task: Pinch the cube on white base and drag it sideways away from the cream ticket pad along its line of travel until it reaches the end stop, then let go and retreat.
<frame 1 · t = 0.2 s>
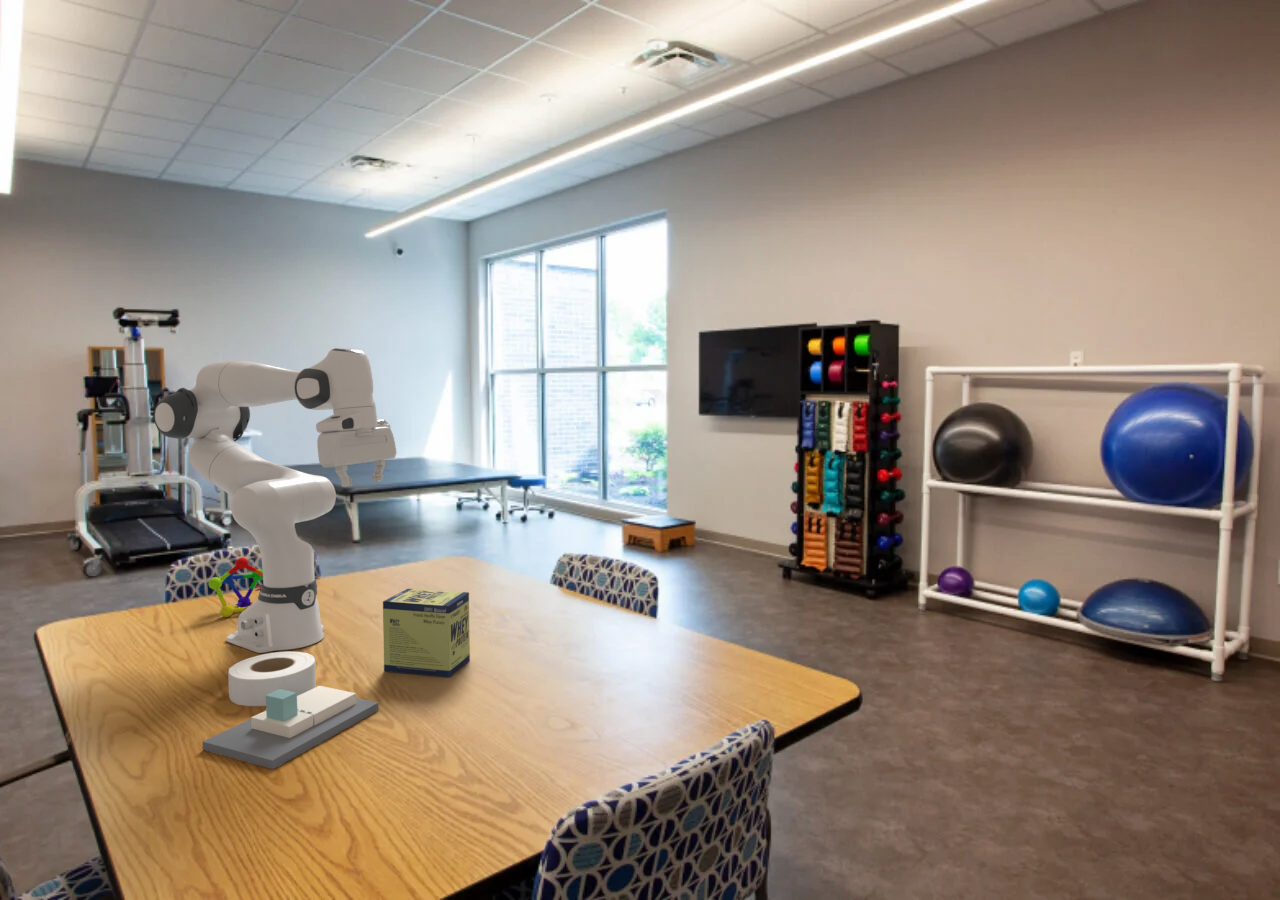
hand: (363, 483, 170), 39 cm above the table, tool pointing down, fingers open, 8 cm apart
protein box: (428, 667, 167), on the table
desk mat: (295, 729, 137), on the table
ticket pad: (317, 717, 142), resting on desk mat
cube on white base: (281, 710, 134), point 5 cm above the table, slide at 0.0 cm
roll of tape: (273, 692, 154), on the table
educational toy: (241, 611, 206), on the table
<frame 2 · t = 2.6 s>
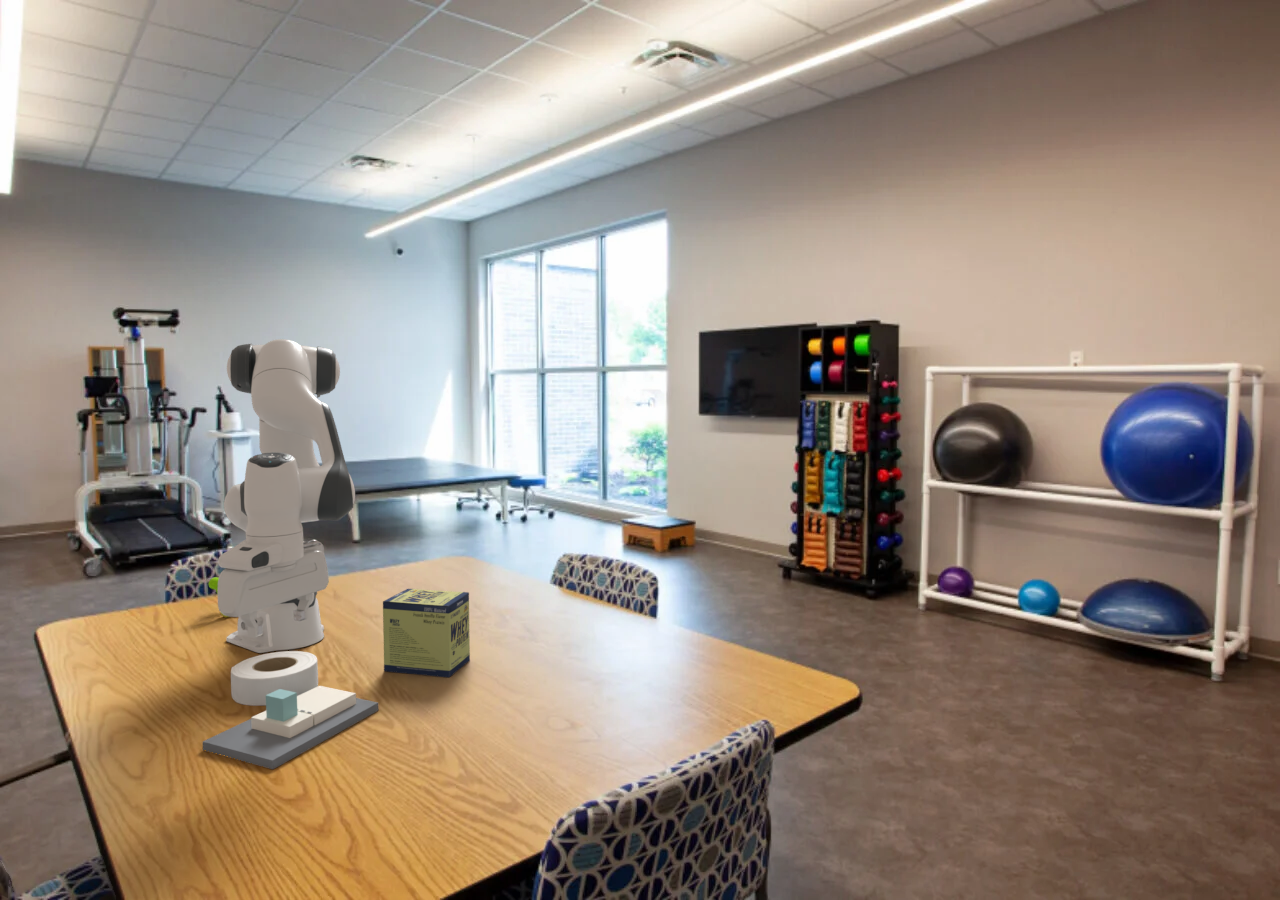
hand: (278, 627, 133), 19 cm above the table, tool pointing down, fingers open, 8 cm apart
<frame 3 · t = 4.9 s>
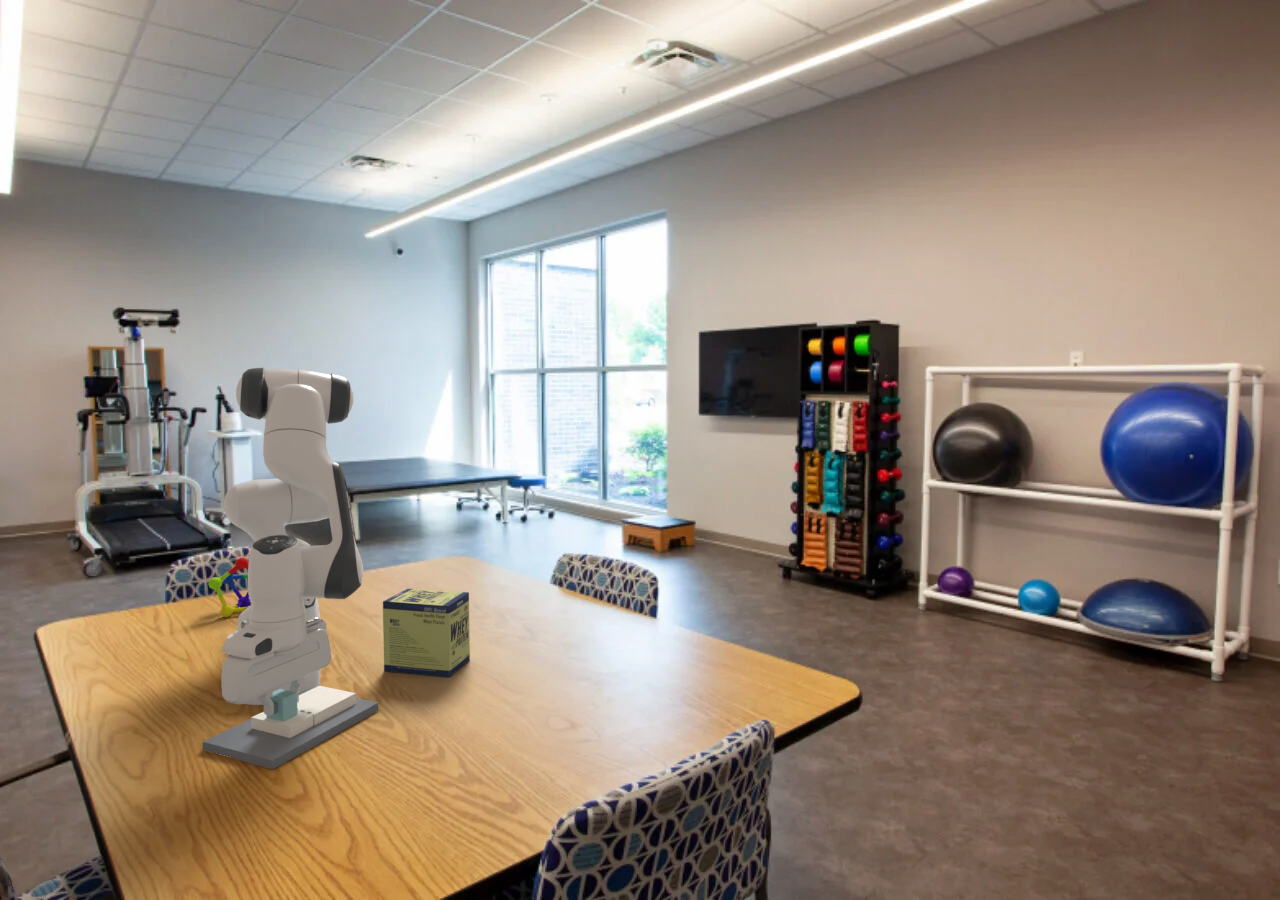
hand: (281, 708, 134), 5 cm above the table, tool pointing down, fingers closed on cube on white base, 3 cm apart
cube on white base: (281, 710, 134), point 5 cm above the table, slide at 0.0 cm, touching gripper
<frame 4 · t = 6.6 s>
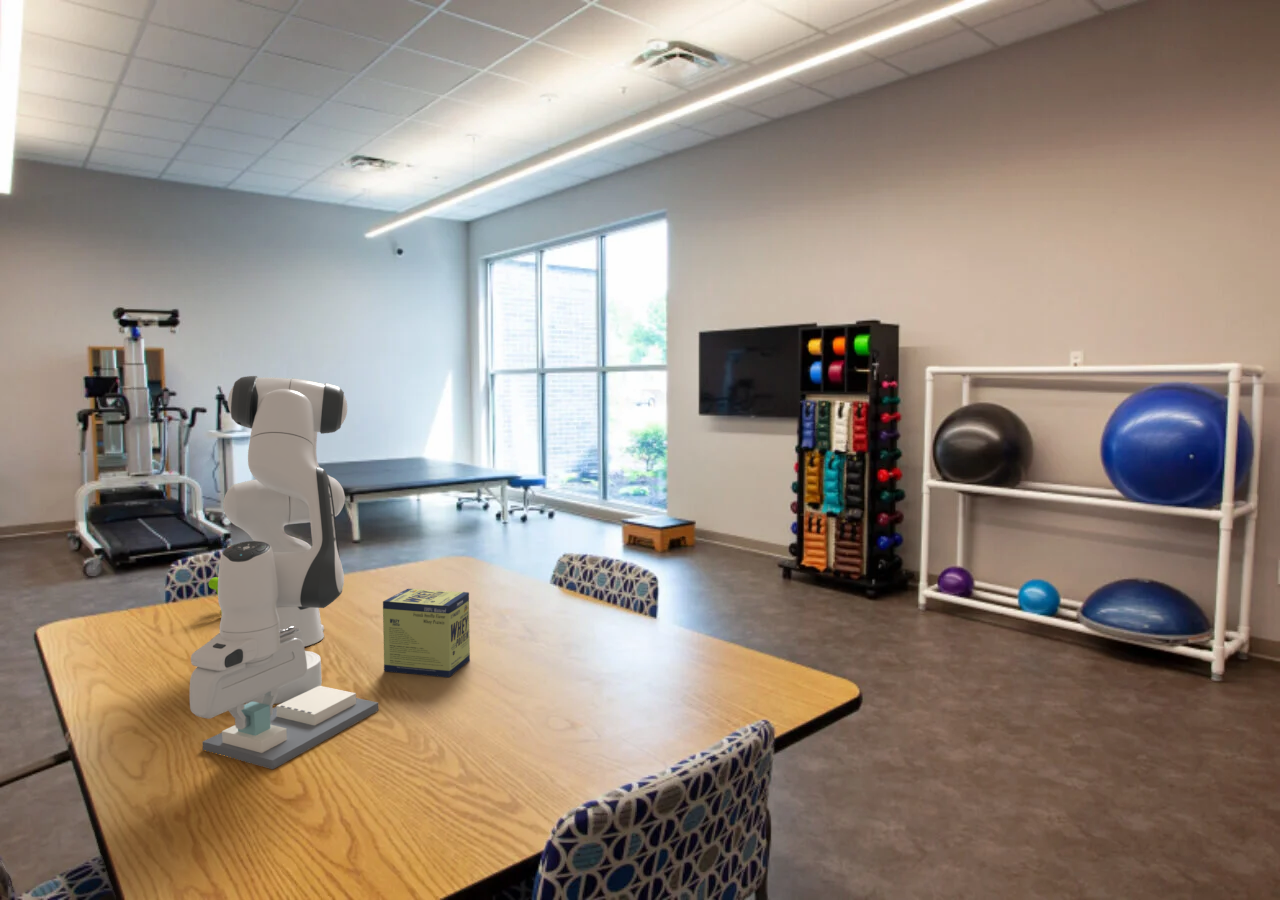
hand: (254, 721, 129), 5 cm above the table, tool pointing down, fingers closed on cube on white base, 3 cm apart
cube on white base: (254, 724, 129), point 5 cm above the table, slide at 5.7 cm, touching gripper
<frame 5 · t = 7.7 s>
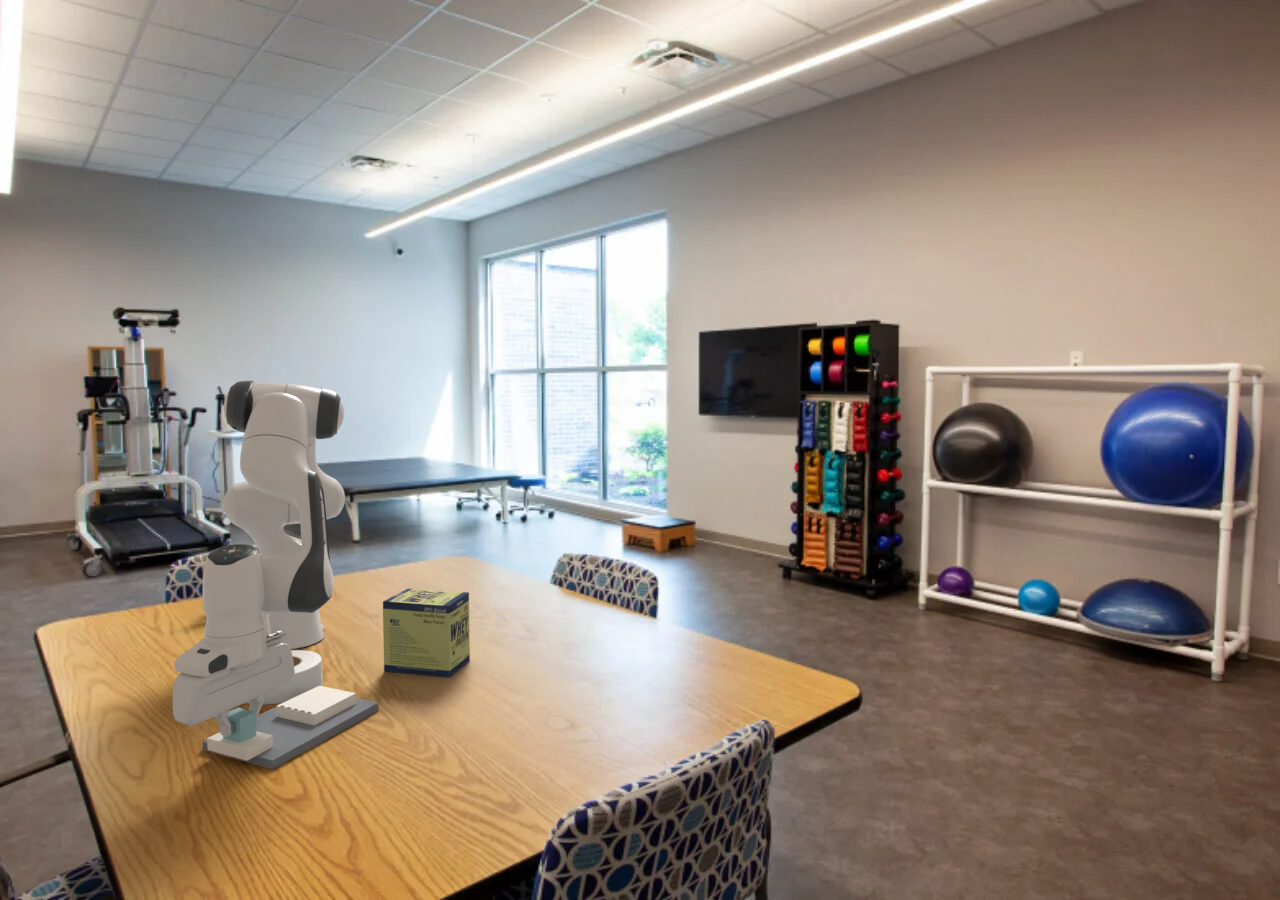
hand: (240, 728, 126), 5 cm above the table, tool pointing down, fingers closed on cube on white base, 3 cm apart
cube on white base: (239, 730, 126), point 5 cm above the table, slide at 8.5 cm, touching gripper
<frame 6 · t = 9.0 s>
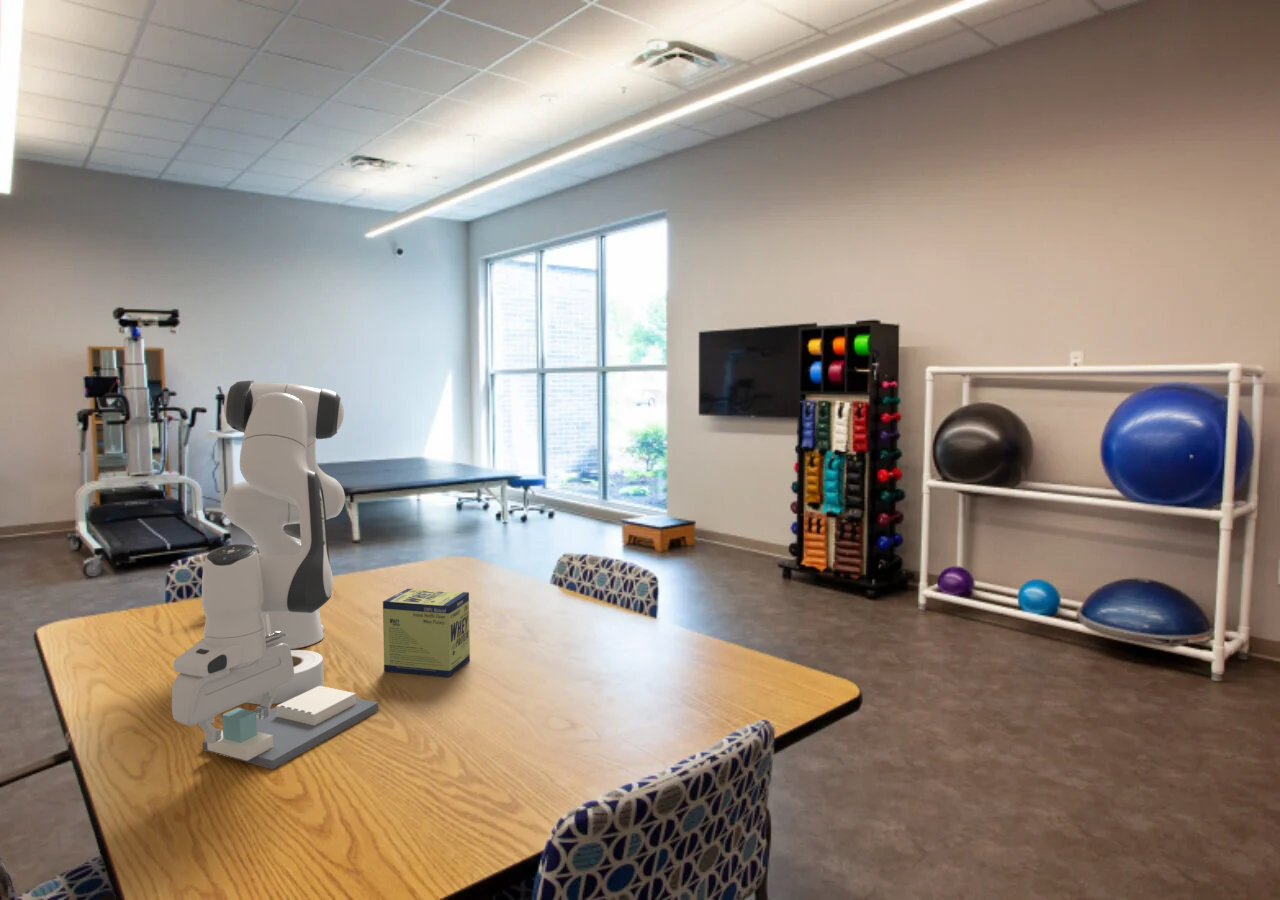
hand: (239, 728, 126), 5 cm above the table, tool pointing down, fingers open, 8 cm apart
cube on white base: (239, 730, 126), point 5 cm above the table, slide at 8.5 cm
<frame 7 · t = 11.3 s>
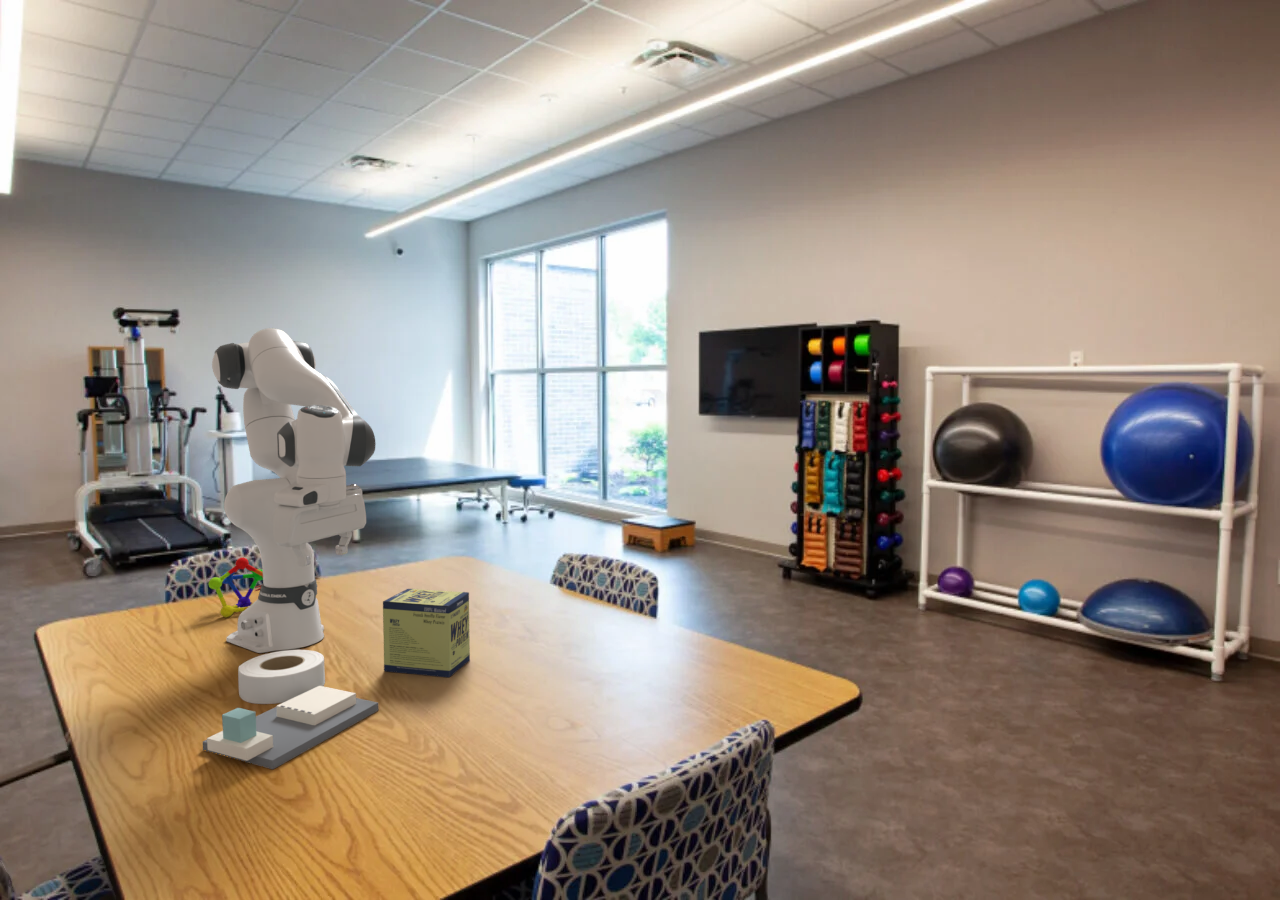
hand: (323, 559, 151), 27 cm above the table, tool pointing down, fingers open, 8 cm apart
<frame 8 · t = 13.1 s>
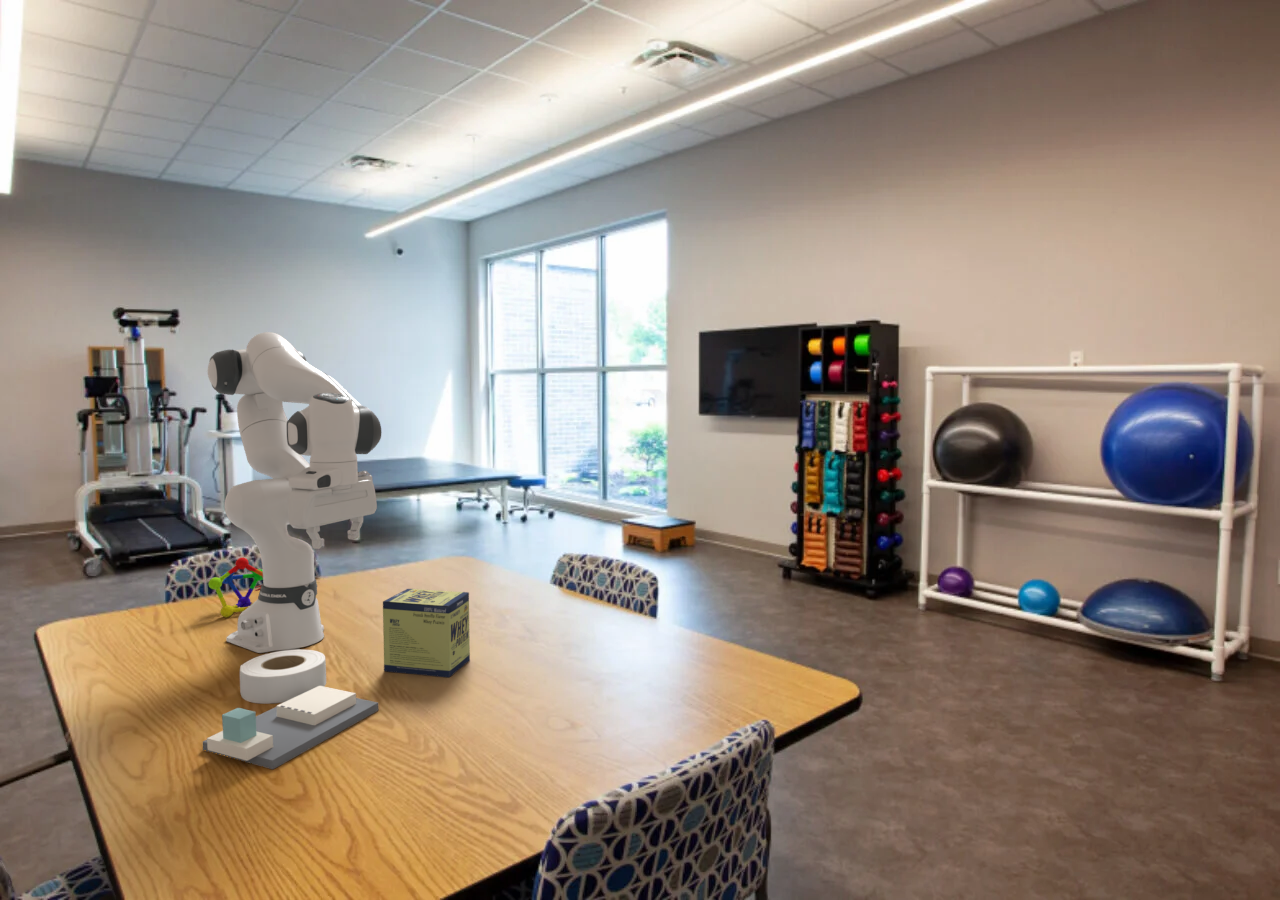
hand: (336, 543, 155), 29 cm above the table, tool pointing down, fingers open, 8 cm apart
at the end: cube on white base slide at 8.5 cm; the gripper is holding nothing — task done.
